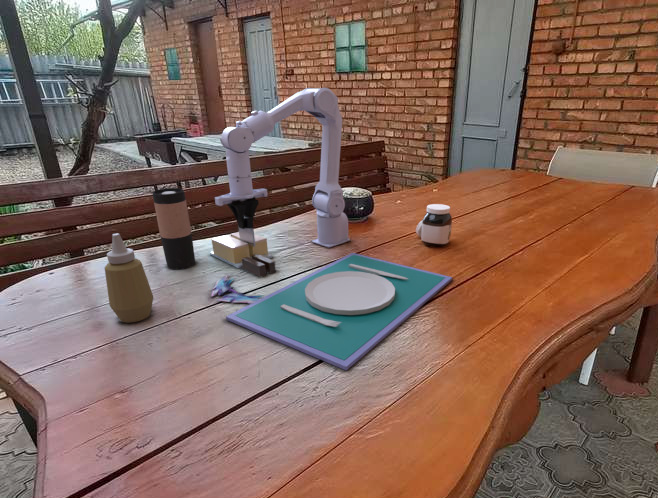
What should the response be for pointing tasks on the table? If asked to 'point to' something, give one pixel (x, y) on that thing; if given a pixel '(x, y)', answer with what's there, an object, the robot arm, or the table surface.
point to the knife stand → (258, 265)
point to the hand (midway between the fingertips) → (245, 227)
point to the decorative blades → (234, 296)
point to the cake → (238, 249)
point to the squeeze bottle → (127, 283)
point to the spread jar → (435, 226)
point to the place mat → (342, 307)
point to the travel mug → (174, 227)
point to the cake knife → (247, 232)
